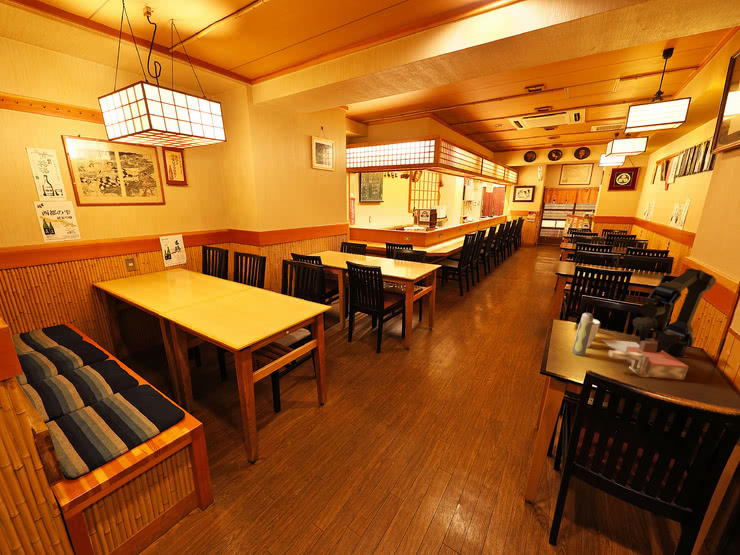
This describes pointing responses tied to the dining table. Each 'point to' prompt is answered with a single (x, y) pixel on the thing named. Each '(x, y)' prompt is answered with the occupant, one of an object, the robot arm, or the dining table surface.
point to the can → (590, 334)
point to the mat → (620, 344)
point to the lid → (657, 355)
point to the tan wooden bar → (625, 355)
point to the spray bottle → (583, 334)
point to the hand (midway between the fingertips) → (649, 346)
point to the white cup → (595, 327)
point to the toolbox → (655, 369)
